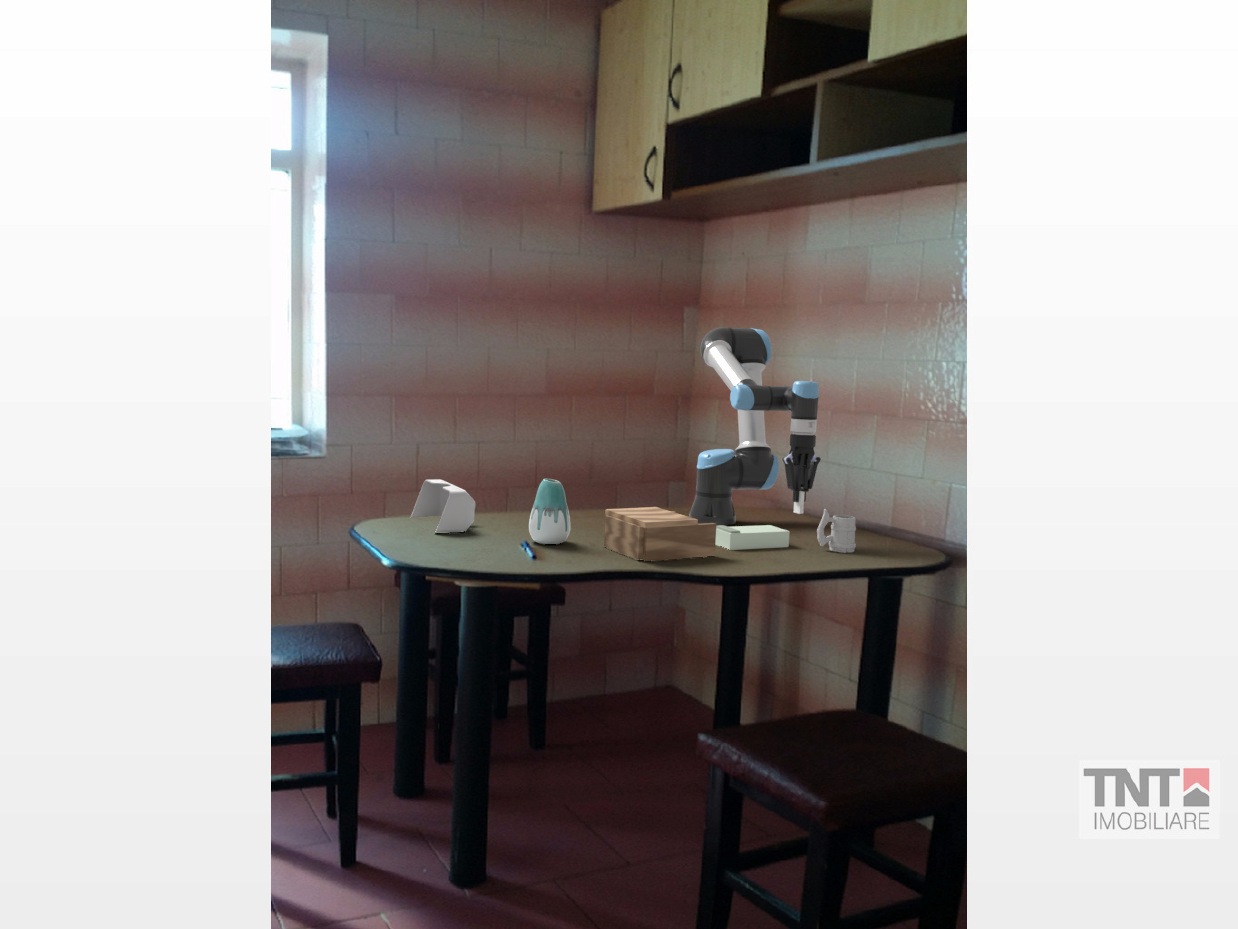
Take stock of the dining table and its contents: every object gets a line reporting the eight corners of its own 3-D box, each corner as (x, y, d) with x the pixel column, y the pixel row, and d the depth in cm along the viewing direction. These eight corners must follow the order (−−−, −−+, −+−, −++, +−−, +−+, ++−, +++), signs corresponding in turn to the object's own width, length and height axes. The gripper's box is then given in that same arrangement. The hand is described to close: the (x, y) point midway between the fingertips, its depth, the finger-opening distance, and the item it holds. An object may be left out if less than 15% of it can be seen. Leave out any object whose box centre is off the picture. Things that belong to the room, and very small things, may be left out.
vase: (576, 542, 298) (579, 479, 296) (557, 548, 287) (560, 483, 285) (540, 537, 303) (543, 475, 301) (520, 543, 292) (522, 479, 290)
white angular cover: (487, 532, 306) (489, 490, 305) (434, 535, 299) (435, 491, 297) (459, 518, 328) (460, 478, 327) (409, 520, 321) (410, 479, 319)
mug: (860, 553, 301) (863, 511, 300) (821, 553, 299) (824, 511, 297) (848, 547, 309) (851, 507, 307) (810, 547, 306) (813, 506, 305)
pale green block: (711, 544, 306) (712, 525, 305) (769, 541, 315) (770, 523, 314) (729, 551, 297) (730, 531, 296) (788, 548, 306) (789, 529, 305)
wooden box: (601, 546, 293) (603, 509, 291) (672, 542, 305) (674, 506, 303) (640, 562, 275) (642, 522, 274) (714, 556, 287) (716, 518, 285)
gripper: (794, 434, 304) (789, 515, 306) (828, 434, 310) (823, 514, 313) (777, 432, 310) (773, 512, 313) (811, 432, 317) (807, 510, 319)
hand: (798, 512), depth 313 cm, fingers closed
